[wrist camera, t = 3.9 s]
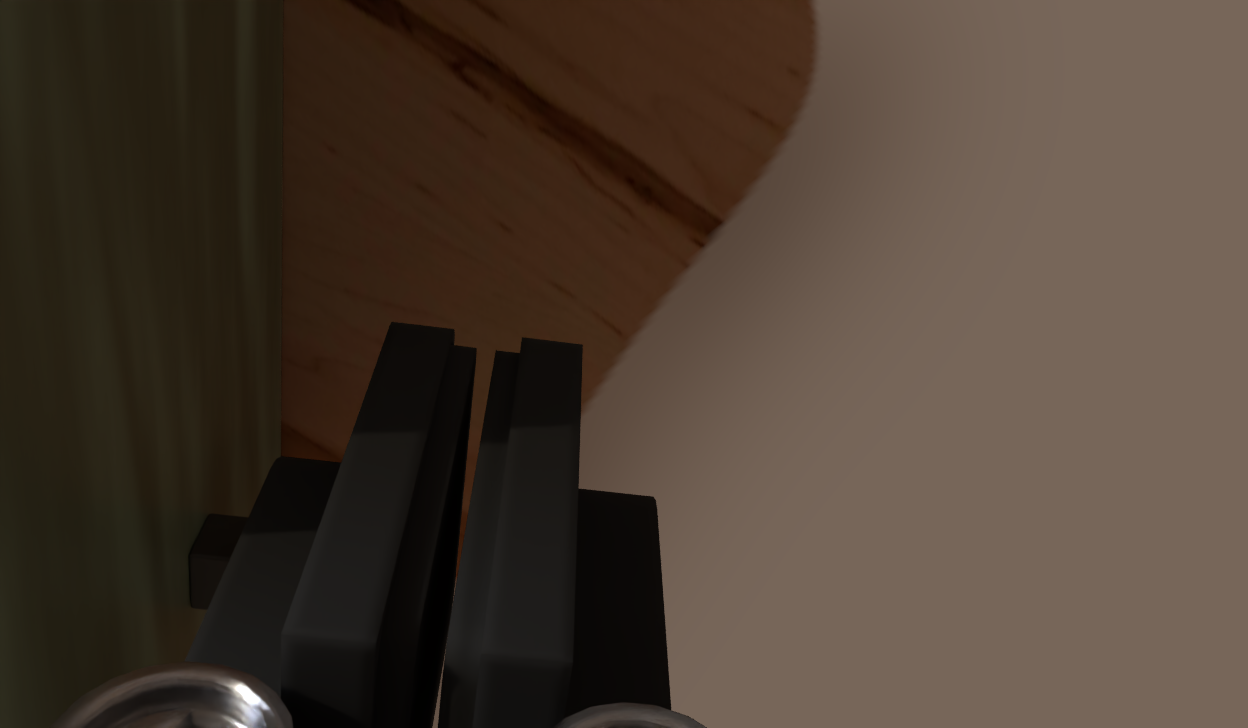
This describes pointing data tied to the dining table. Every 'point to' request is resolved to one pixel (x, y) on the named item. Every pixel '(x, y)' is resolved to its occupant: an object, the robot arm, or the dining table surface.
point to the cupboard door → (131, 327)
